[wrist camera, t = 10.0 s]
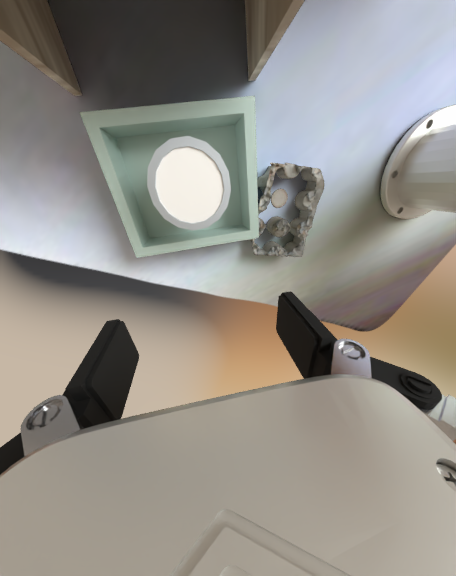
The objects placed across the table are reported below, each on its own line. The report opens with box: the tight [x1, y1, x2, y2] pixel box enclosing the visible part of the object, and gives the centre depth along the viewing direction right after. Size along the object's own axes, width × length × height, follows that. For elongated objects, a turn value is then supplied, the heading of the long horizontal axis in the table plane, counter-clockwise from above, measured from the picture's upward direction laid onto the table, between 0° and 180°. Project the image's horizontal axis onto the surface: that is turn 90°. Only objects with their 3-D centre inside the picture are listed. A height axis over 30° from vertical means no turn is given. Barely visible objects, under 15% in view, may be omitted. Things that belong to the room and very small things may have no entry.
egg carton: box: [250, 163, 324, 257], centre depth 23 cm, size 11×8×4 cm
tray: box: [79, 96, 259, 258], centre depth 20 cm, size 14×12×4 cm
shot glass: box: [147, 136, 231, 230], centre depth 18 cm, size 7×7×7 cm
